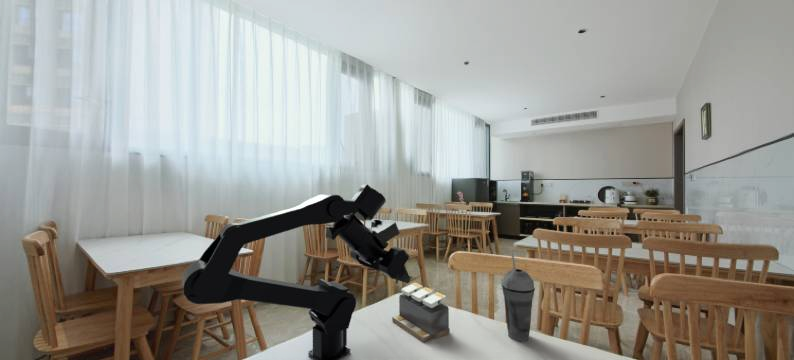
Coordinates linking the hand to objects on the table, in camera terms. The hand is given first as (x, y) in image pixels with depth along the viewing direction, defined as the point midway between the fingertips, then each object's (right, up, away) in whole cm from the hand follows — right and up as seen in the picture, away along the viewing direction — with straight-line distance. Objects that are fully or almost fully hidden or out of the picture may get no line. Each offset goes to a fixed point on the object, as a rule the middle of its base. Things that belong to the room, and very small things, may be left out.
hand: (398, 276), depth 75 cm
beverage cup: (+28, -13, -4) cm, 31 cm away
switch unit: (+6, -13, +1) cm, 14 cm away
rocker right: (+9, -5, -2) cm, 10 cm away
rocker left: (+4, -5, +6) cm, 9 cm away
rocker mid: (+6, -5, +2) cm, 8 cm away
